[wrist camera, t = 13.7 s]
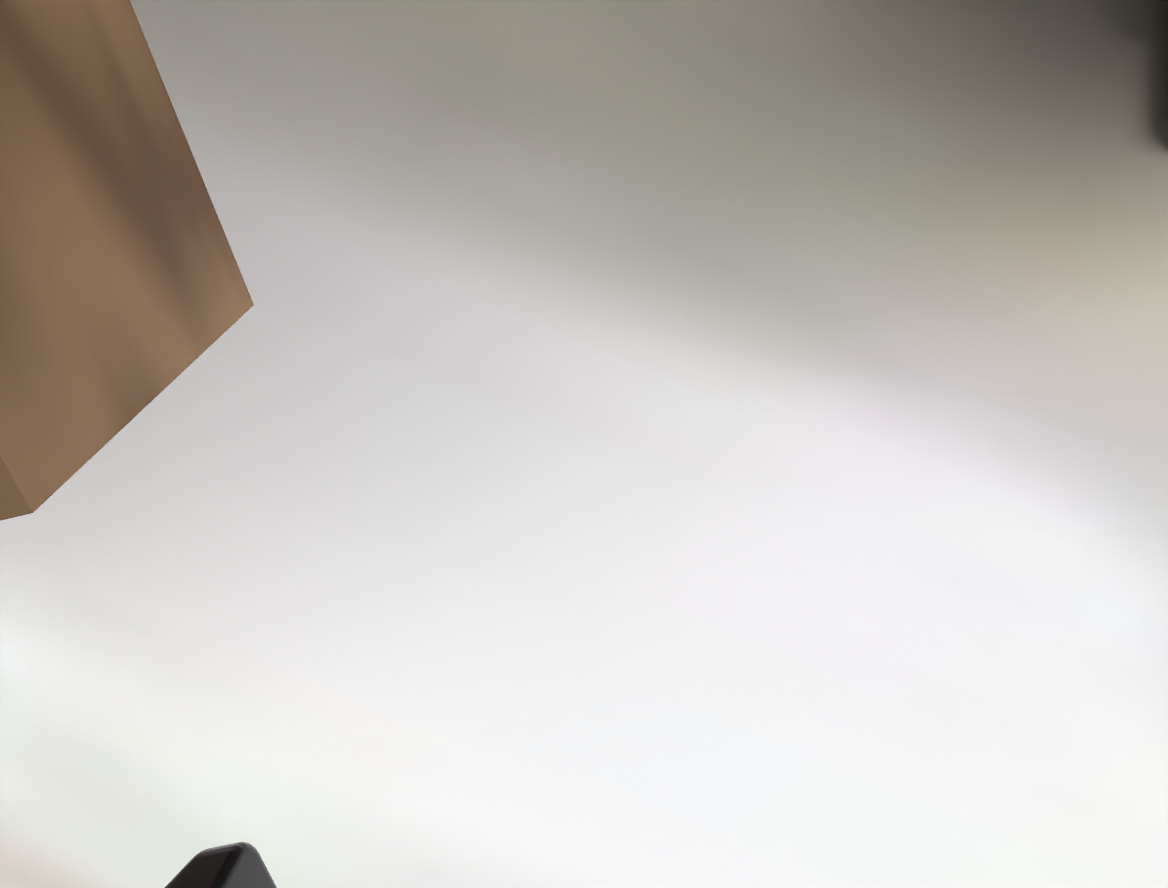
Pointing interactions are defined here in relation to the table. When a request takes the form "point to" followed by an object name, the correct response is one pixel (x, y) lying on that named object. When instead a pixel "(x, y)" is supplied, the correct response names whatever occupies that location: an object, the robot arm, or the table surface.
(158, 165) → the brown wooden block
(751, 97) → the table surface
